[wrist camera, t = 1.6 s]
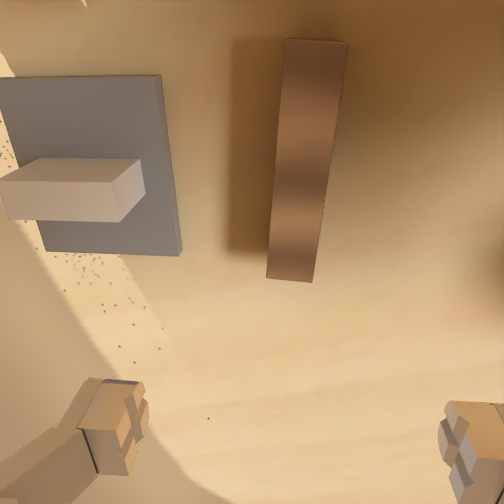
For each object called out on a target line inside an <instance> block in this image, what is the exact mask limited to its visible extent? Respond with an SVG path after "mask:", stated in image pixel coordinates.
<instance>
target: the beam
mask: <svg viewBox="0 0 504 504" xmlns="http://www.w3.org/2000/svg"><path fill="white" fill-rule="evenodd" d="M347 51H348V44H347V43H345V42H343V41H329V40H312V39H296V38H287V39H286V40H285V50H284V62H283V75H282V87H281V99H280V112H279V124H278V136H277V148H276V161H275V173H274V185H273V198H272V210H271V222H270V235H269V247H268V259H267V271H266V278H269V279H279V280H289V281H298V282H308V283H312V281H313V274H314V267H315V261H316V254H317V248H318V241H319V235H320V228H321V221H322V215H323V208H324V202H325V195H326V189H327V182H328V176H329V169H330V162H331V156H332V149H333V143H334V136H335V130H336V123H337V116H338V110H339V103H340V97H341V90H342V84H343V77H344V71H345V64H346V57H347Z"/></svg>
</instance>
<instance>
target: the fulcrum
mask: <svg viewBox="0 0 504 504" xmlns="http://www.w3.org/2000/svg"><path fill="white" fill-rule="evenodd" d="M0 110H1V113H2V116H3V119H4V122H5V126H6V129H7V132H8V135H9V138H10V141H11V144H12V147H13V150H14V153H15V157H16V160H17V163H18V166H19V169H17V170H15V171H13V172H11V173H9V174H7V175H5V176H3V177H1V178H0V196H1V199H2V202H3V204H4V207H5V210H6V213H7V216H8V218H9V219H13V220H36V222H37V225H38V228H39V231H40V234H41V237H42V240H43V244H44V247H45V250H46V252H73V253H100V254H128V255H155V256H179V255H180V253H181V251H182V242H181V234H180V226H179V218H178V210H177V202H176V195H175V187H174V179H173V171H172V163H171V155H170V147H169V139H168V131H167V124H166V116H165V108H164V100H163V92H162V84H161V76H160V75H137V76H67V77H1V78H0Z"/></svg>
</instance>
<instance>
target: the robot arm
mask: <svg viewBox="0 0 504 504" xmlns="http://www.w3.org/2000/svg"><path fill="white" fill-rule="evenodd" d="M144 393H145V388H144V385H143V383H142V382H136V381H124V380H113V379H99V378H88V379H87V380H86V381H85V382H84V383H83V385H82V386H81V388H80V390H79V391H78V393H77V395H76V396H75V398H74V400H73V401H72V403H71V405H70V406H69V408H68V410H67V411H66V413H65V414H64V416H63V418H62V419H61V421H60V423H59V424H58V426H57V427H51V428H50V429H48V430H47V431H45V432H44V433H43V434H41V435H40V436H38V437H37V438H35V439H34V440H32V441H31V442H30V443H28V444H27V445H25V446H24V447H22V448H21V449H20V450H18V451H17V452H15V453H14V454H12V455H11V456H9V457H8V458H7V459H5V460H4V461H2V462H1V463H0V504H71V503H72V502H73V501H74V500H75V499H76V497H78V496H79V495H80V494H81V493H82V492H83V491H84V490H85V489H86V488H87V486H89V485H90V484H91V482H93V481H94V480H95V478H96V477H97V476H98V475H97V474H102V475H103V474H104V475H120V476H129V474H130V471H131V469H132V467H133V464H134V461H135V459H136V456H137V453H138V451H137V447H136V443H137V442H139V441H140V440H141V439H142V438H143V437H144V435H145V432H146V429H147V425H148V419H149V407H148V402H147V401H146V400H145V399H144V398H143V395H144ZM444 411H445V414H446V417H447V418H446V419H444V420H443V421H441V422H440V426H439V429H438V443H439V448H440V452H441V455H442V458H443V461H445V462H446V463H447V464H448V465H449V466H450V467H451V468H452V470H451V473H450V475H449V479H450V482H451V485H452V488H453V491H454V494H455V497H456V499H457V502H458V504H504V404H500V403H488V402H468V401H449V402H448V403H447V404H446V406H445V409H444Z"/></svg>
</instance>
